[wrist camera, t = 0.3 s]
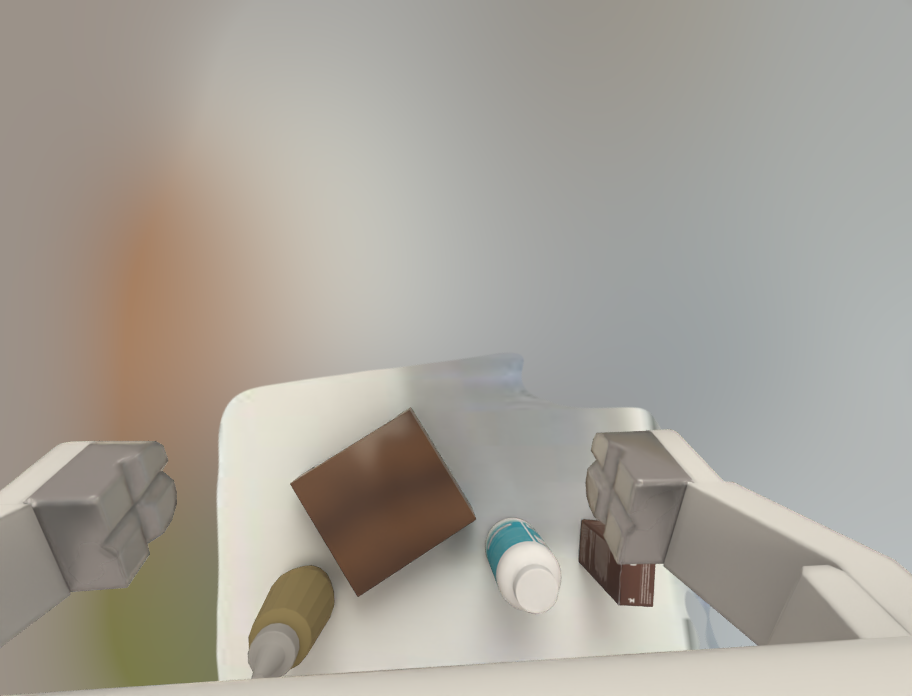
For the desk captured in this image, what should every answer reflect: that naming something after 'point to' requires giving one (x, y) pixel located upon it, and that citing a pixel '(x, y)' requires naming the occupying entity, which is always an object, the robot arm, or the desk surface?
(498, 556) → the pill bottle
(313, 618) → the squeeze bottle
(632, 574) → the box
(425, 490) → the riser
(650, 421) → the desk surface
